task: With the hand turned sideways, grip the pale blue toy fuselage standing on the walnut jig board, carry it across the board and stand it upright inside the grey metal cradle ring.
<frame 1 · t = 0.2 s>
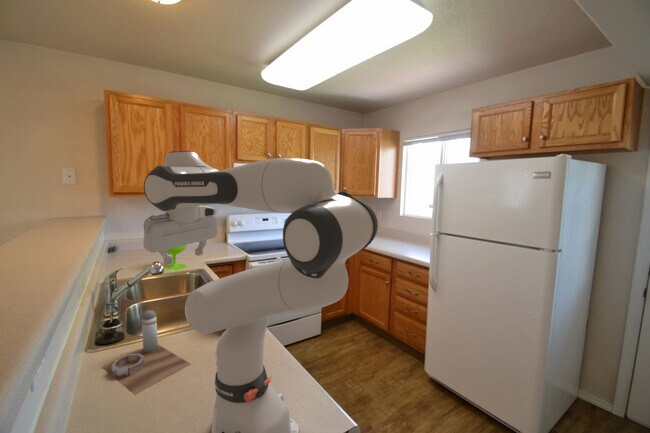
hand: (184, 259, 83), 39 cm above the worktop, tool pointing down, fingers open, 8 cm apart
fuselage: (150, 348, 105), point 1 cm above the worktop, touching jig board
jig board: (146, 368, 96), on the worktop
toy car: (247, 353, 106), on the worktop
wooden barrel: (238, 323, 127), on the worktop
cradle: (128, 368, 94), resting on jig board
wineglass: (174, 269, 201), on the worktop
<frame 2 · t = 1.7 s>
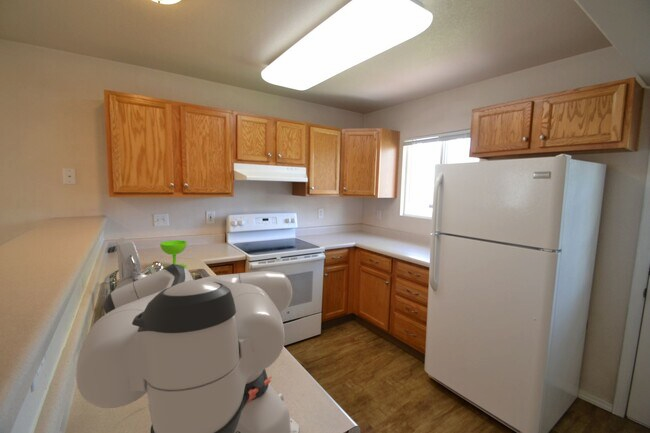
hand: (120, 250, 83), 41 cm above the worktop, tool pointing upward, fingers open, 8 cm apart
nothing on the worktop moved.
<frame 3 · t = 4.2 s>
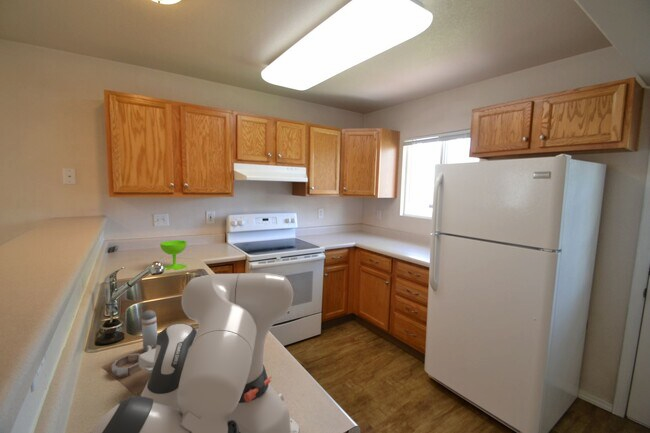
hand: (164, 341, 97), 8 cm above the worktop, tool horizontal, fingers open, 8 cm apart
nothing on the worktop moved.
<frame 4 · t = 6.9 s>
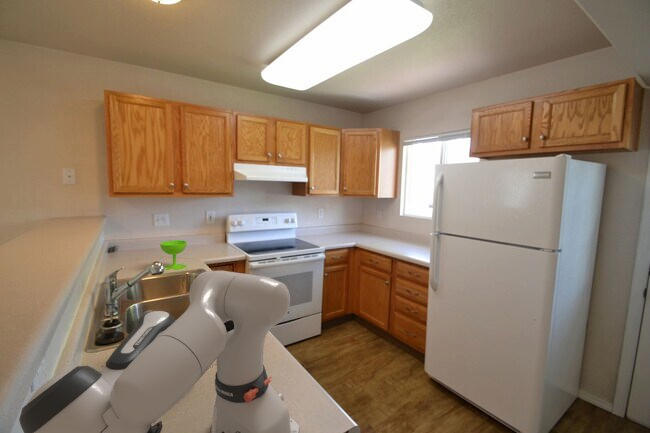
hand: (148, 328, 105), 8 cm above the worktop, tool horizontal, fingers closed on fuselage, 4 cm apart
fuselage: (150, 348, 105), point 1 cm above the worktop, touching gripper, jig board
everything else where it was.
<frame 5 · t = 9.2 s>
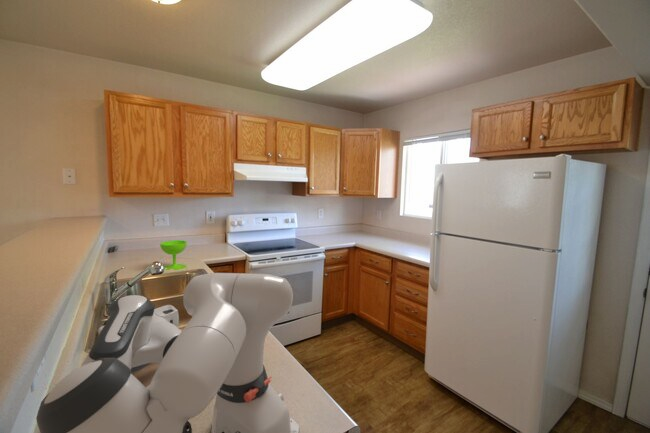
hand: (130, 315, 95), 17 cm above the worktop, tool horizontal, fingers closed on fuselage, 4 cm apart
fuselage: (133, 337, 96), point 10 cm above the worktop, touching gripper
everything else where it was.
when the fingers open (10 cm above the worktop, at t = 11.5 s): fuselage drops 1 cm, resting on jig board.
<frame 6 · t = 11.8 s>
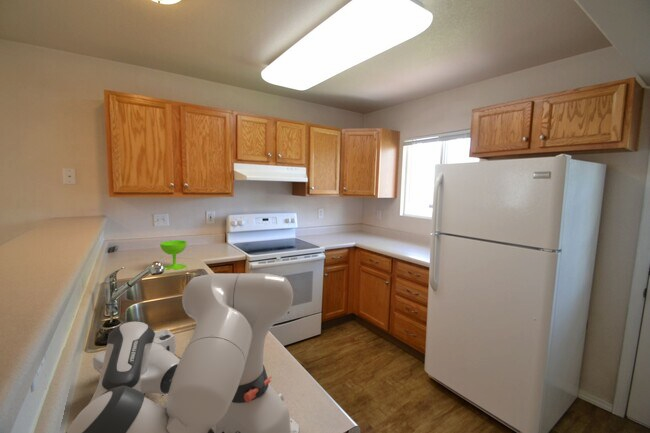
hand: (125, 341, 93), 10 cm above the worktop, tool horizontal, fingers open, 8 cm apart
fuselage: (128, 368, 94), point 1 cm above the worktop, touching jig board
everything else where it was.
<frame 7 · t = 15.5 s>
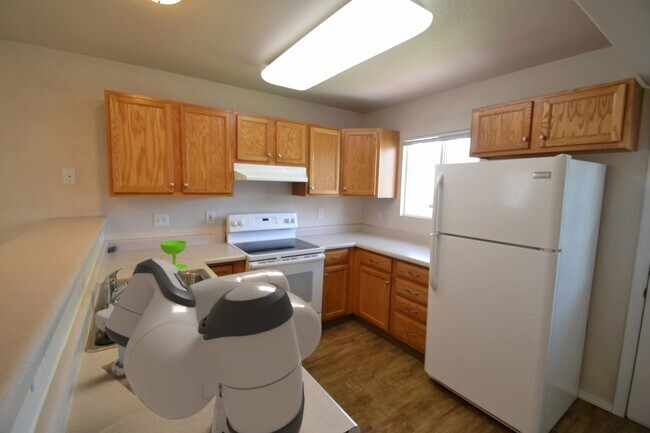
hand: (130, 300, 83), 27 cm above the worktop, tool horizontal, fingers open, 8 cm apart
nothing on the worktop moved.
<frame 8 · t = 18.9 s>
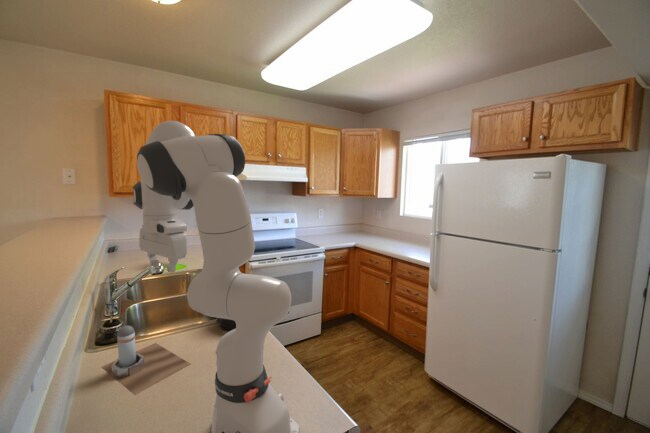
hand: (162, 268, 90), 34 cm above the worktop, tool pointing down, fingers open, 8 cm apart
at the end: fuselage 0.2 cm off-centre on the cradle, point 0.0 cm above the cradle's base; fuselage tilted 0°; the gripper is holding nothing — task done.
